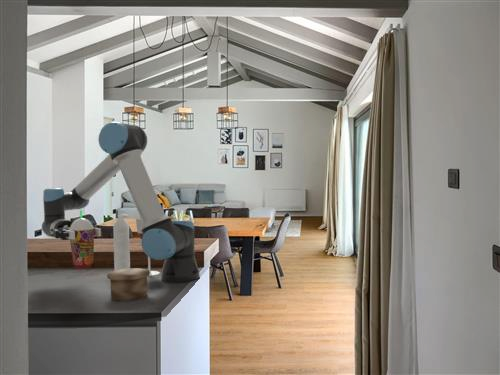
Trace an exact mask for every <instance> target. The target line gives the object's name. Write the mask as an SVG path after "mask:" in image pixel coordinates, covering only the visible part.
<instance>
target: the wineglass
mask: <svg viewBox="0 0 500 375" xmlns="http://www.w3.org/2000/svg"><path fill="white" fill-rule="evenodd" d="M135 224H136V232H137V235H138V238H139V239H140V240H142V237H143V233H142V231H141V228H142V226H143V222H142V220H141V218H140V217H138V218H136V219H135ZM147 263H148V264H147V265H148V266H147V270H149V271H150V275H149V276H148V277H150V276H156V275H159V274H161V272H160V271H157V270H151V258H150V257H149V256H147Z"/></svg>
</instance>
